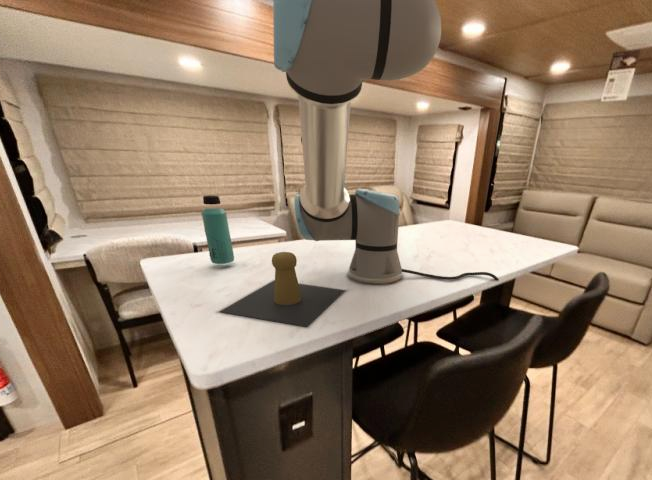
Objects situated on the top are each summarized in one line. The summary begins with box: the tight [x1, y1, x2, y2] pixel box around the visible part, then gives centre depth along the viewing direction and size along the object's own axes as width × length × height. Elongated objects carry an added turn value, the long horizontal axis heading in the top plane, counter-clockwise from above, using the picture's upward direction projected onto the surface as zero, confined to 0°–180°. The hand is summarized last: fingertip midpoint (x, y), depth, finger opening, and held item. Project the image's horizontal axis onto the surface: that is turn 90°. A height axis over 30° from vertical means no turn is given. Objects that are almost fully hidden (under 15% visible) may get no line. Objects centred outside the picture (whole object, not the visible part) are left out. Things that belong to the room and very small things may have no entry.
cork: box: [271, 251, 301, 305], centre depth 69 cm, size 6×6×11 cm
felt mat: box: [219, 279, 345, 328], centre depth 71 cm, size 20×20×1 cm
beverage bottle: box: [200, 194, 235, 265], centre depth 88 cm, size 6×7×20 cm
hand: (323, 172), depth 92 cm, fingers open, 13 cm apart
